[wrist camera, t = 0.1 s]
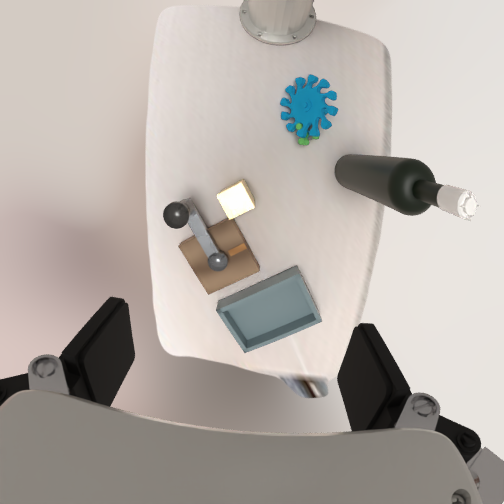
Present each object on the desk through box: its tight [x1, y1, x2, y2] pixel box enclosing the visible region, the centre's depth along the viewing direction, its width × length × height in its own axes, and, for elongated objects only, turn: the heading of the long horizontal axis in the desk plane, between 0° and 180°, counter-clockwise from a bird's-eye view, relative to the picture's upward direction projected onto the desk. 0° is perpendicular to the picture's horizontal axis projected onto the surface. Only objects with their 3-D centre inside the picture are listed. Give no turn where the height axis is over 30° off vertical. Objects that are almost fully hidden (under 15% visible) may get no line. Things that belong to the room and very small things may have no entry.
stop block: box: [217, 179, 255, 220], centre depth 43 cm, size 4×4×6 cm
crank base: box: [179, 218, 260, 295], centre depth 48 cm, size 10×10×2 cm
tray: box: [216, 265, 322, 353], centre depth 51 cm, size 11×16×4 cm
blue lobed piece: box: [280, 75, 338, 145], centre depth 39 cm, size 11×6×10 cm
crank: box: [163, 198, 228, 271], centre depth 42 cm, size 13×4×7 cm, turn 27°
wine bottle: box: [335, 154, 479, 221], centre depth 30 cm, size 6×6×30 cm
